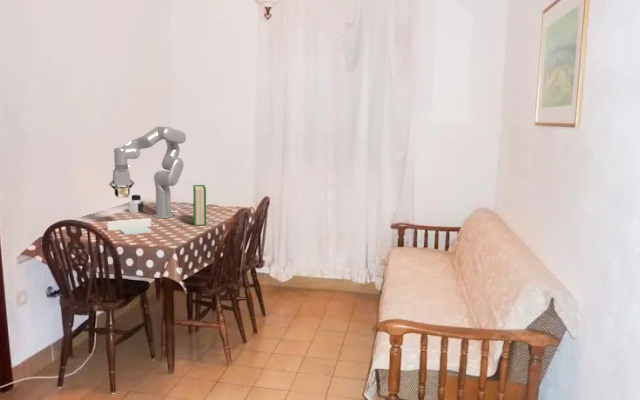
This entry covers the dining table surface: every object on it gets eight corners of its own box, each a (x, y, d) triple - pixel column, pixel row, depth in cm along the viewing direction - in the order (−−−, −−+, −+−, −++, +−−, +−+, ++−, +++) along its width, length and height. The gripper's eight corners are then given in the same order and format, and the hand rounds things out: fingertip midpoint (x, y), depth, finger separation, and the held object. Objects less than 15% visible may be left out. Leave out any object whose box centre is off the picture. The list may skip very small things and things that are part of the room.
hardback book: (206, 225, 347) (205, 188, 343) (194, 225, 345) (194, 188, 341) (204, 220, 364) (204, 185, 360) (193, 220, 362) (193, 185, 358)
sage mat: (146, 228, 334) (146, 226, 334) (152, 232, 324) (152, 230, 324) (119, 230, 325) (119, 229, 325) (124, 234, 315) (124, 233, 315)
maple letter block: (126, 195, 346) (125, 186, 345) (128, 197, 341) (128, 187, 340) (116, 196, 343) (115, 187, 342) (118, 198, 338) (118, 188, 337)
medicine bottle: (138, 212, 381) (137, 196, 379) (129, 212, 383) (128, 195, 381) (143, 211, 388) (143, 194, 386) (134, 210, 390) (134, 194, 388)
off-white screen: (150, 225, 341) (150, 218, 340) (151, 226, 339) (151, 218, 339) (107, 229, 327) (107, 221, 326) (108, 230, 325) (107, 222, 325)
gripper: (133, 166, 346) (134, 193, 349) (105, 167, 337) (106, 195, 340) (136, 167, 340) (137, 195, 343) (107, 168, 331) (109, 197, 334)
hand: (122, 195), depth 342 cm, fingers closed on maple letter block, 6 cm apart
